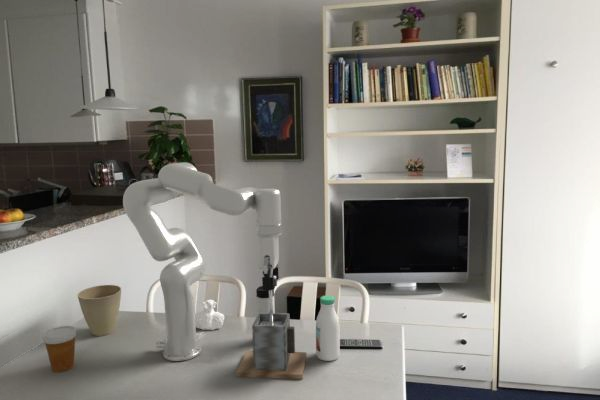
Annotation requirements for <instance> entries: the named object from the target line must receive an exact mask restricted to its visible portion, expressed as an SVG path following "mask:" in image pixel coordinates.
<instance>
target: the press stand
mask: <svg viewBox="0 0 600 400" xmlns="http://www.w3.org/2000/svg"><path fill="white" fill-rule="evenodd" d="M261 320H265V321H270V313H258V315H257V314H256V318H255V319H254V322H253V324H252V329H251V330H252V350H245V352H244V355H243V357H242V359H241V361H240V363H239V366H238V367H237V369H236V372H235V376H236V378H252V379H253V378H255V379H256V378H259V379H280V380H283V379H284V380H287V379H288V380H303V377H304V371H305V367H306V362H307V352H305V351H296V342H295V341H296V340H295V339H296V338H295V336H296V335H295V326H291V325H290V324H291V323H290V321H291V317H290V313H286V312H285V313H281V312H279V313H278V312H275V313H273V321H285V323H284V326H275V325H259V324H260V322H261Z"/></svg>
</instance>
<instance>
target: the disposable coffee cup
mask: <svg viewBox="0 0 600 400" xmlns="http://www.w3.org/2000/svg"><path fill="white" fill-rule="evenodd" d="M77 334H78V333H77V330H76V329H75V327H74V326H71V325H61V326H57V327H53V328H51V329H47V330H46V331H45V332H44V333H43V336H42V341H43V342H44V343H45V344H44V345H45V348H46V352H47V356H48V359H49V363H50V367H51V370H52V371H53V372H54V373H59V372H61V373H62V372H66V371H68V370H70V369H72V368H73V367H74V366H75V350H76V349H75V348H76V335H77Z"/></svg>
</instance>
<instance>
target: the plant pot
mask: <svg viewBox="0 0 600 400" xmlns="http://www.w3.org/2000/svg"><path fill="white" fill-rule="evenodd" d="M77 298H78V302H79V306H80V310H81V313H82V314H83V317H84V321H85V322H86V324H87V327H88V328H89V330H90V332H91V334H92V335H93V336H96V337H104V336H108V335H109V334H112V333H113V332H114V331H115V328H116V325H117V321H118V317H119V311H120V307H121V299H122V287H121V286H119V285H115V284H102V285H94V286H90V287H87V288H85V289H82V290H80V291H79V292H78V293H77Z"/></svg>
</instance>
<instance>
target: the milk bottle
mask: <svg viewBox="0 0 600 400" xmlns="http://www.w3.org/2000/svg"><path fill="white" fill-rule="evenodd" d="M319 300H320V301H319V302H320V310H319V312H318V315H317V316H316V321H315V352H316V353H315V355H316V357H317V358H318V359H319V360H321V361H326V362H332V361H335V360H337V359H339V357H340V356H341V354H340V352H341V348H340V347H341V346H340V345H341V344H340V342H341V341H340V340H341V339H340V338H341V337H340V334H341V332H340V318H339V317H338V314H337V312H336V308H335V302H336V301H335V297H334V296H333V295H322V296H320V298H319Z"/></svg>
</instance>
